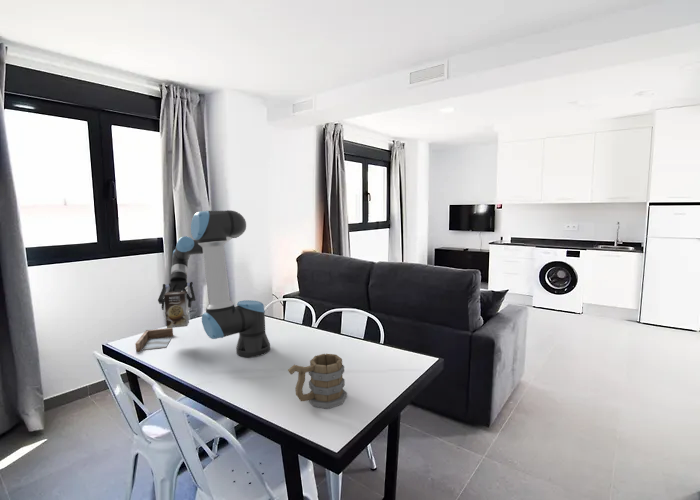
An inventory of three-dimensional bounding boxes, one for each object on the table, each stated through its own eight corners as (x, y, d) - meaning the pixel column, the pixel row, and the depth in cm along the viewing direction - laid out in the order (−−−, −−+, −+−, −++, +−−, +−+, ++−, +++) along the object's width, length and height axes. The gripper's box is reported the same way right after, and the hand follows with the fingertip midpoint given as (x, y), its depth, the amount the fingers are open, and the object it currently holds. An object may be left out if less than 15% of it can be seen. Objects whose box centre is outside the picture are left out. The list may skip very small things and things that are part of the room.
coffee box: (166, 328, 172) (163, 295, 170) (169, 324, 178) (166, 292, 176) (187, 326, 174) (184, 293, 172) (189, 322, 180) (186, 290, 178)
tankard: (335, 385, 135) (334, 346, 133) (352, 401, 124) (351, 359, 122) (283, 400, 126) (281, 358, 124) (296, 419, 115) (294, 373, 113)
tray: (165, 348, 174) (164, 340, 173) (136, 351, 170) (135, 343, 170) (173, 335, 191) (172, 327, 191) (146, 337, 188) (145, 330, 188)
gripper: (202, 277, 191) (201, 315, 178) (157, 280, 186) (152, 320, 172) (200, 269, 186) (199, 307, 172) (153, 272, 180) (148, 312, 167)
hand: (175, 314), depth 172 cm, fingers closed on coffee box, 9 cm apart
